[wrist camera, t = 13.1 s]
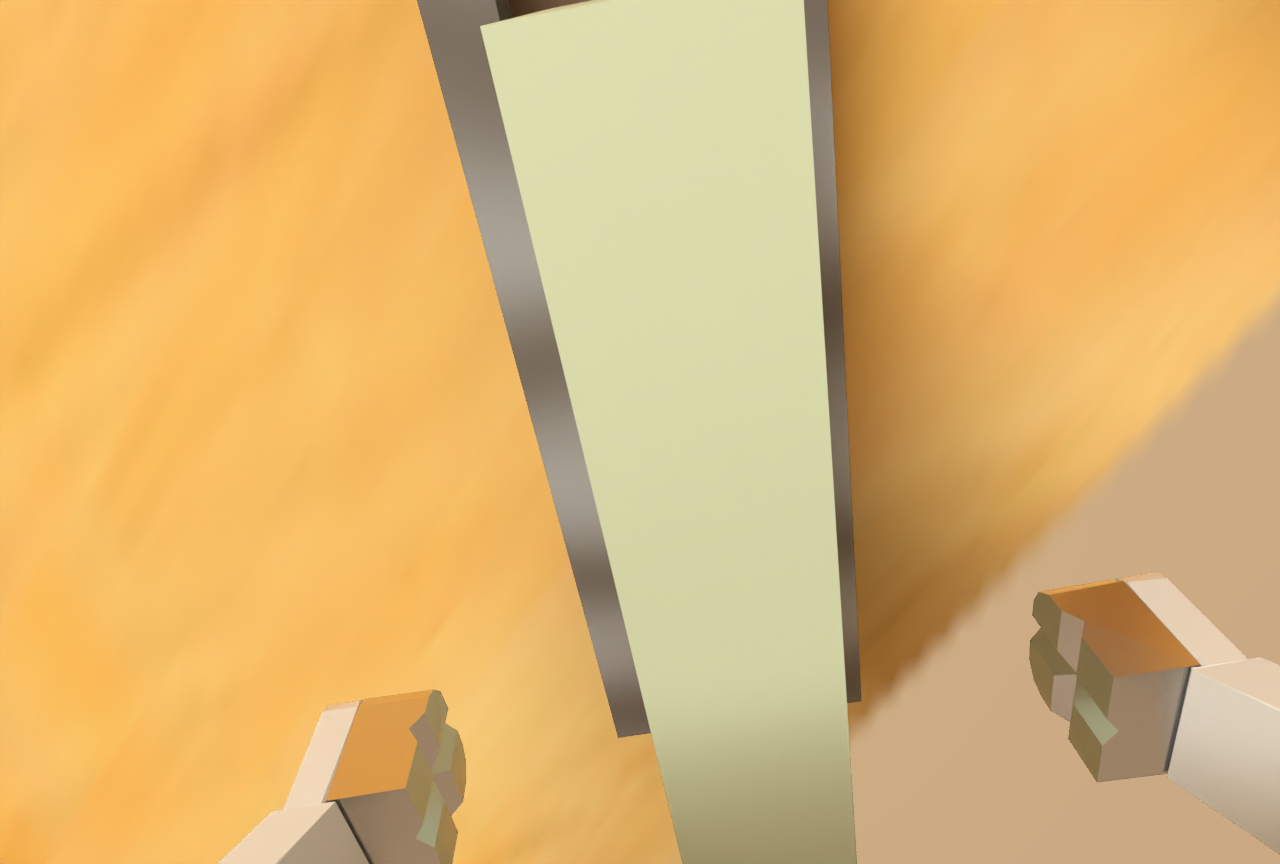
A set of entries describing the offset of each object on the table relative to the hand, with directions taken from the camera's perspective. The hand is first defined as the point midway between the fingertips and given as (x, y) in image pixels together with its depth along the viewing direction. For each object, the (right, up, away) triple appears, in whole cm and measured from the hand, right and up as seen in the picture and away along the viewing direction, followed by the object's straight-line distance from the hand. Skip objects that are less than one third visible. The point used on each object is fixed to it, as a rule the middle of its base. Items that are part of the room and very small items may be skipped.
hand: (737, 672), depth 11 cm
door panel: (0, +6, +11) cm, 13 cm away
